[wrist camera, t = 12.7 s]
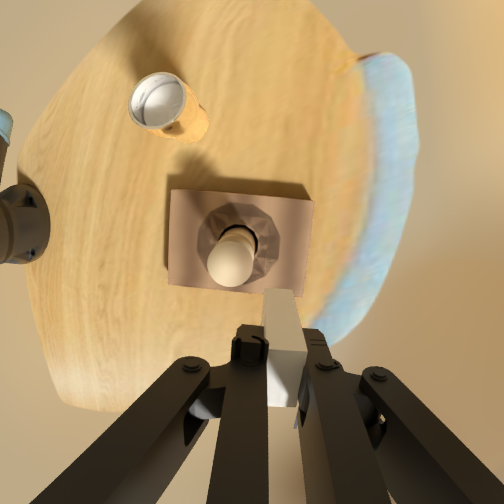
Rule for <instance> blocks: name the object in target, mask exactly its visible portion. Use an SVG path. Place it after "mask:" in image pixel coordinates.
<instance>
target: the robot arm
mask: <svg viewBox="0 0 504 504" xmlns="http://www.w3.org/2000/svg"><path fill="white" fill-rule="evenodd" d="M12 126H13V120H12V117H11V115H10V114H9V113H7V112H6V111H3V110H2V109H0V183H1V177H2V171H3V166H4V161H5V156H6V152H7V147H8V146H9V145H10V140H9V139H10V135H11V131H12ZM49 236H50V217H49V212H48V208H47V205H46V203H45V201H44V199H43V197H42V195H41V194H40V193H39V191H38V190H37V189H35V188H34V187H33V186H31V185H28V184H18V185H13V186H10V187H9V188H7V189H6V190H4V191H2V192H0V264H2V263H13V264H27V263H30V262H32V261H34V260H37V259H38V258H39V257H40V256H41V255H42V254H43V253H44V251H45V249H46V247H47V244H48V241H49ZM297 400H298V401H299V408H298V412H297V416H296V420H295V425H294V428H297V425H298V429H299V438H300V446H301V455H302V464H303V473H304V483H305V492H306V502H307V504H391V500H390V497H389V495H388V492H389V493H390V494H391V496H392V497H393V499H394V500H395V502H396V503H397V504H504V485H503V484H502V482H501V481H499V479H498V478H496V476H495V475H494V474H493V473H492V472H491V471H490V470H489V469H488V468H487V467H486V466H485V465H484V464H483V463H482V462H481V461H480V460H479V459H478V458H477V457H476V456H475V455H474V454H473V453H472V452H471V451H470V450H469V449H468V448H467V447H466V446H465V445H464V444H463V443H462V442H461V441H460V440H459V439H458V438H457V437H456V436H455V435H454V434H453V433H452V432H451V431H450V430H449V429H448V428H447V427H446V426H445V425H444V424H443V423H442V422H441V421H440V420H439V419H438V418H437V417H436V416H435V415H434V414H433V413H432V412H431V411H430V410H429V409H428V408H427V407H426V406H425V405H424V404H423V403H422V402H421V401H420V400H419V399H418V398H417V397H416V396H415V395H414V394H413V393H412V392H411V391H410V390H409V389H408V388H407V387H406V386H405V385H404V384H403V383H402V382H401V381H400V380H399V379H398V378H397V377H396V376H395V375H394V374H393V373H392V372H391V371H389V370H388V369H385V368H383V367H378V366H375V367H368V368H366V369H364V370H363V372H362V375H356V374H351V373H347V372H345V371H344V370H343V367H342V365H341V364H340V363H339V362H338V361H336V360H335V359H332V356H331V353H330V351H329V348H328V346H327V342H326V340H325V337H324V334H322V333H321V332H320V331H319V330H318V329H307V328H302V326H301V322H300V318H299V314H298V310H297V307H296V303H295V299H294V295H293V291H292V290H291V289H279V288H267V287H265V292H264V301H263V311H262V320H261V326H256V325H245V324H242V325H241V326H240V327H239V328H238V329H237V333H236V336H235V337H234V338H233V340H232V347H231V361H230V362H228V363H227V364H225V365H221V366H216V367H210V365H209V363H208V362H207V361H206V360H204V359H202V358H199V357H194V356H188V357H182V358H179V359H177V360H176V361H175V362H174V363H173V364H172V365H171V366H170V367H169V368H168V369H167V370H166V371H165V372H164V373H163V374H162V375H161V376H160V377H159V378H158V379H157V380H156V381H155V382H154V383H153V384H152V385H151V386H150V387H149V388H148V389H147V390H146V391H145V392H144V393H143V394H142V395H141V396H140V397H139V398H138V399H137V400H136V401H135V402H134V403H133V404H132V405H131V406H130V407H129V408H128V409H127V410H126V411H125V412H124V413H123V414H122V415H121V416H120V417H119V418H118V419H117V420H116V421H115V422H114V423H113V424H112V425H111V426H110V427H109V428H108V429H107V430H106V431H105V432H104V433H103V434H102V435H101V436H100V437H99V438H98V439H97V440H96V441H94V442H93V443H92V444H91V445H90V447H88V448H87V449H86V450H85V451H84V452H83V453H82V454H81V455H80V456H79V457H78V458H77V459H76V460H75V461H74V462H73V463H72V464H71V465H70V466H69V467H68V468H67V469H65V470H64V471H63V472H62V473H61V474H60V475H59V476H58V477H57V478H56V479H55V480H54V481H53V482H52V483H51V484H50V485H49V486H48V487H47V488H45V490H43V491H42V492H41V493H40V494H39V495H38V496H37V497H36V498H35V499H34V500H33V501H32V502H30V503H29V504H156V502H157V501H158V500H159V498H160V497H161V495H162V494H163V492H164V491H165V489H166V488H167V486H168V485H169V483H170V482H171V480H172V479H173V477H174V476H175V474H176V473H177V471H178V470H179V468H180V467H181V465H182V463H183V462H184V461H185V459H186V458H187V456H188V454H189V453H190V451H191V450H192V448H193V447H194V445H195V443H196V442H197V440H198V438H199V437H200V436H201V434H202V432H203V431H204V429H205V427H206V426H207V424H208V422H209V419H212V418H221V420H220V425H219V431H218V437H217V442H216V449H215V455H214V460H213V466H212V472H211V478H210V484H209V490H208V496H207V502H206V504H269V486H268V485H269V482H268V481H269V480H268V406H278V407H296V404H297ZM381 414H382V415H383V416H384V418H385V419H386V420H385V422H383V421H382V420H381V418H380V417H381ZM387 490H388V492H387Z"/></svg>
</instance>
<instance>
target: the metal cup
mask: <svg viewBox="0 0 504 504" xmlns="http://www.w3.org/2000/svg"><path fill="white" fill-rule="evenodd" d="M128 110H129V114H130V116H131V118H132V120H133V121H134V122H135V123H136V124H137V125H138V126H140V127H142V128H143V129H145V130H147V131H148V132H150V133H152V134H154V135H157V136H160V137H165V138H175V139H176V140H177V141H179V142H182V143H192V142H195V141H197V140H199V139H200V138H202V137H203V136H204V134H205V133H206V131H207V129H208V125H209V120H208V116H207V113H206V112H205V111H204V110H203V109H202V108H201V107H200V106H199V103H198V100H197V97H196V95H195V94H194V92H193V91H192V90H191V88H190V87H189V86H188V85H187V84H185V83H184V82H183V81H182V80H180V79H179V78H178V77H177V76H176V75H174V74H171V73H168V72H156V73H153V74H150V75H148V76H146V77H144V78H143V79H141V80H140V81H139V82H138V83H137V84H136V85H135V87H134V88H133V90H132V92H131V94H130V97H129V101H128Z"/></svg>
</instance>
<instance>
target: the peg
mask: <svg viewBox="0 0 504 504" xmlns="http://www.w3.org/2000/svg"><path fill="white" fill-rule="evenodd" d="M254 251H255V241H254V238H253V235H252V233H251V232H250V231H249V230H248V229H247V228H245V227H242V226H237V227H234V228H232V229H230V230H228V231H227V232H225V233H224V235H223V236H222V237H221V239H220V240H219V242H218V243H217V244H216V246H215V247H214V249H213V250H212V251H211V253H210V255H209V257H208V260H207V268H208V272H209V274H210V276H211V277H212V278H213V280H214V281H216V282H217V283H218V284H220V285H223V286H226V287H235V286H238V285H241V284H243V283H244V282H245V281H246V280H247V279H248V278H249V277H250V275H251V273H252V268H253V260H254Z"/></svg>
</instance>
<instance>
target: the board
mask: <svg viewBox="0 0 504 504" xmlns="http://www.w3.org/2000/svg"><path fill="white" fill-rule="evenodd" d="M314 205H315V201H313V200H307V199H297V198H288V197H278V196H267V195H256V194H245V193H232V192H219V191H204V190H187V189H171V202H170V222H169V254H168V285H177V286H186V287H195V288H204V289H213V290H223V291H233V292H244V293H254V294H264V292H265V287H267V288H279V289H291V290H292V291H293V295H294V297H303V292H304V285H305V278H306V271H307V263H308V256H309V248H310V240H311V231H312V223H313V214H314ZM237 226H242V227H245V228H247V229H248V230H249V231H250V232H251V233H252V235H253V238H254V241H255V249H256V247H257V243H258V248H257V249H256V250H255V252H254V260H253V268H252V273H251V275H250V277H249V278H248V279H247V280H246V281H245V282H244V283H243V284H241V285H238V286H235V287H226V286H223V285H220V284H218V283H217V282H216V281H214V280H213V278H212V277H211V276H210V274H209V272H208V268H207V260H208V257H209V255H210V253H211V251H212V250H213V249H214V247H215V246H216V244H217V243H218V242H219V240H220V239H221V233H222V232H223V231H224V232H223V234H222V236H223V235H224V233H225V232H227V231H228V230H230V229H232V228H234V227H237ZM225 228H226V229H225ZM224 229H225V230H224Z"/></svg>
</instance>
